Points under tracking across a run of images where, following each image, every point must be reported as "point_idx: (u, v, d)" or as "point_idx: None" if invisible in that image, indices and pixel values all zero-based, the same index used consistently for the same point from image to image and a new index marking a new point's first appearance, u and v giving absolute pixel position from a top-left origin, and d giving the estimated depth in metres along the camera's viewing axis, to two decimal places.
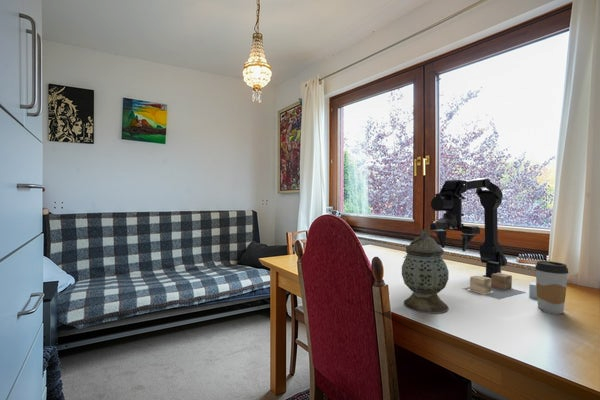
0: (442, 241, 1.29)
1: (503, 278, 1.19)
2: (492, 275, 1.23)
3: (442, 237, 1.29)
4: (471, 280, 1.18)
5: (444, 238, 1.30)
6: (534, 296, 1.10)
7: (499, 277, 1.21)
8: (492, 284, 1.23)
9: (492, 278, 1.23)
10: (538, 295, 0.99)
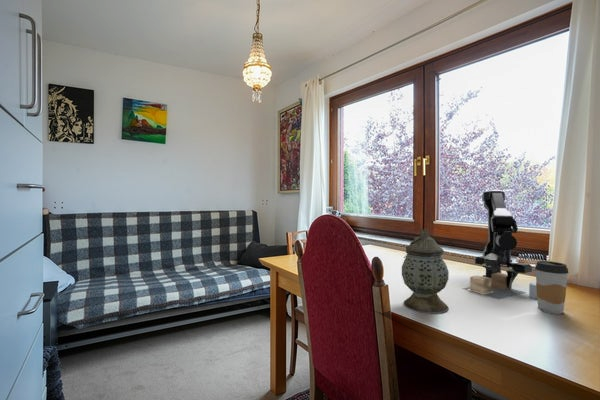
0: None
1: (503, 278, 1.19)
2: (492, 275, 1.23)
3: (493, 273, 1.25)
4: (471, 280, 1.18)
5: None
6: (534, 296, 1.10)
7: (499, 277, 1.21)
8: (492, 284, 1.23)
9: (492, 278, 1.23)
10: (538, 295, 0.99)
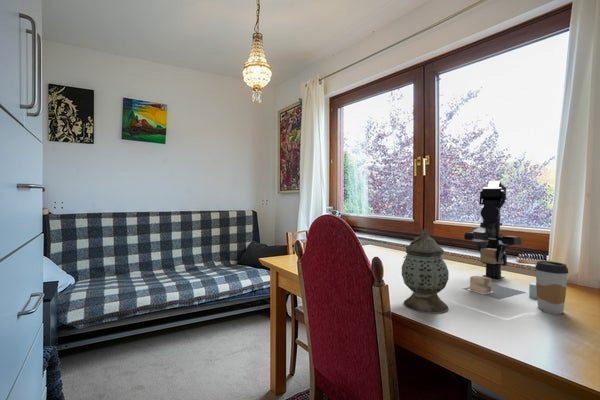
0: None
1: (492, 252, 1.16)
2: (481, 250, 1.20)
3: (482, 248, 1.22)
4: (471, 280, 1.18)
5: None
6: (534, 296, 1.10)
7: (488, 251, 1.17)
8: (481, 259, 1.20)
9: (482, 253, 1.20)
10: (538, 295, 0.99)
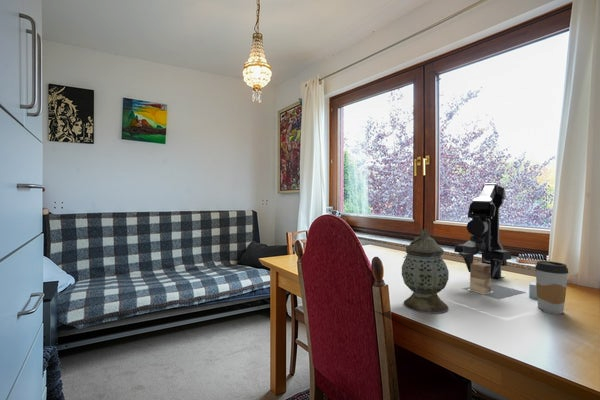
0: (469, 265, 1.21)
1: (482, 267, 1.14)
2: (471, 265, 1.18)
3: (469, 261, 1.21)
4: (471, 280, 1.18)
5: (471, 261, 1.22)
6: (534, 296, 1.10)
7: (478, 267, 1.16)
8: (471, 274, 1.18)
9: (471, 268, 1.18)
10: (538, 295, 0.99)
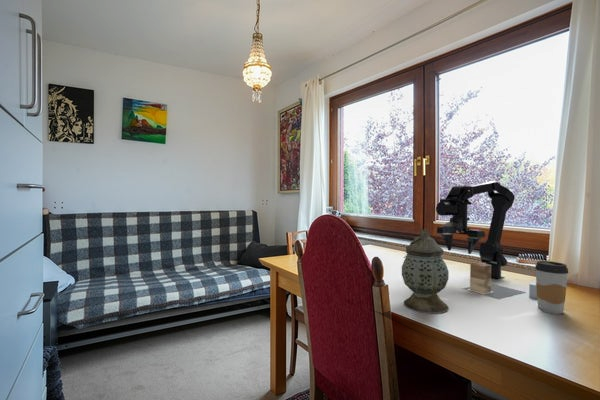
0: (448, 244, 1.36)
1: (482, 267, 1.14)
2: (471, 265, 1.18)
3: (448, 240, 1.36)
4: (471, 280, 1.18)
5: (450, 241, 1.36)
6: (534, 296, 1.10)
7: (478, 267, 1.16)
8: (471, 274, 1.18)
9: (471, 268, 1.18)
10: (538, 295, 0.99)
